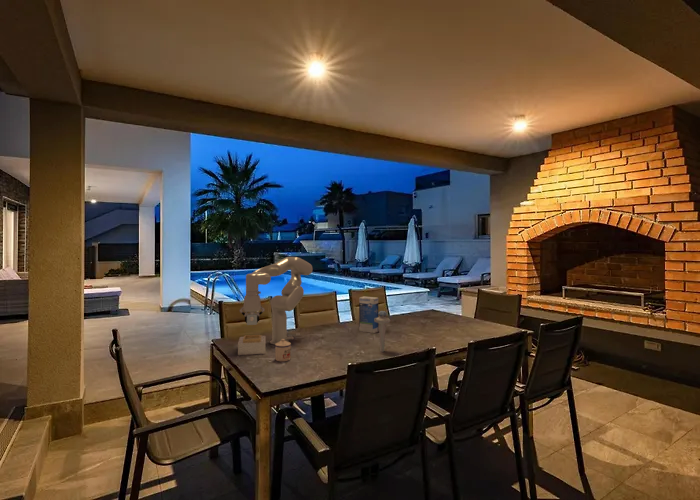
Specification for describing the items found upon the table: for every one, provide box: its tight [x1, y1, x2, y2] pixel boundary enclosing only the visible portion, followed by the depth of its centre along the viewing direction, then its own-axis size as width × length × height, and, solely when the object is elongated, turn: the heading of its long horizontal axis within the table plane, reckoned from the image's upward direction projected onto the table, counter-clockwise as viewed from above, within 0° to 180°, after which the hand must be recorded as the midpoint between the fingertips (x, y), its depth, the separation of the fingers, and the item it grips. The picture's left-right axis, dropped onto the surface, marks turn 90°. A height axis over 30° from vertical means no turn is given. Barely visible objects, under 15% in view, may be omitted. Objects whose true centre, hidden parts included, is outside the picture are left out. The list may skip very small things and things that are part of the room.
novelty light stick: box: [374, 310, 391, 353], centre depth 236 cm, size 10×10×25 cm
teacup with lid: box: [274, 339, 292, 363], centre depth 221 cm, size 12×9×12 cm
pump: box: [246, 312, 258, 326], centre depth 235 cm, size 6×8×8 cm
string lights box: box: [358, 295, 379, 334], centre depth 288 cm, size 13×8×26 cm, turn 58°
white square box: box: [237, 334, 267, 356], centre depth 237 cm, size 16×16×8 cm
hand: (252, 322), depth 236 cm, fingers closed on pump, 6 cm apart
